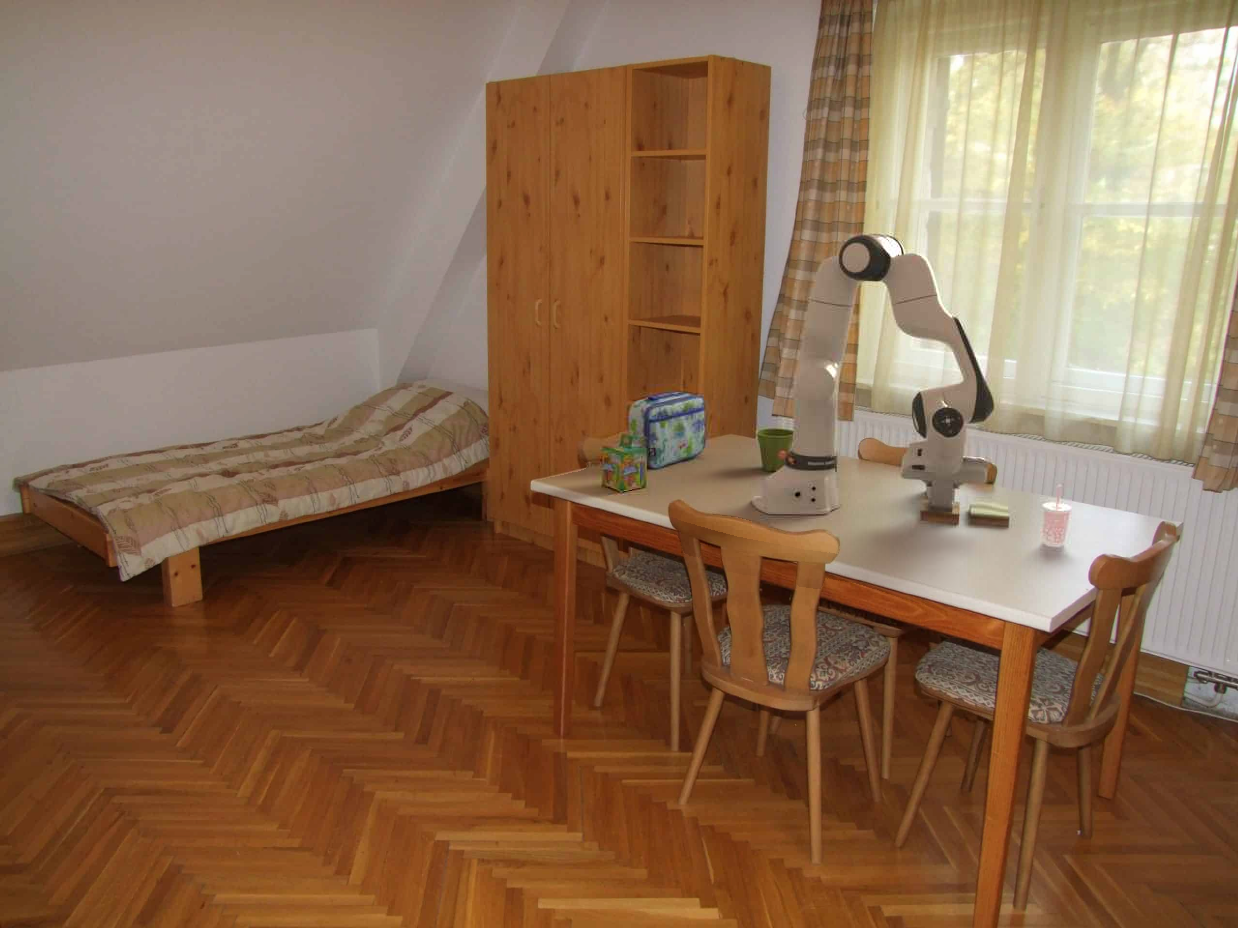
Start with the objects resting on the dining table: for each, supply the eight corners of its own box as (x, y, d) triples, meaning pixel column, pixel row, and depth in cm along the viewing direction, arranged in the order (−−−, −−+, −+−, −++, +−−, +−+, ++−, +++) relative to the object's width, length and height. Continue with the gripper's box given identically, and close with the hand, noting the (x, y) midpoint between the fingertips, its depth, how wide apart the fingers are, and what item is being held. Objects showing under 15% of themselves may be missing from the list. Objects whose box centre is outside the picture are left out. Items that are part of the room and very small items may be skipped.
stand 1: (958, 524, 255) (959, 514, 254) (920, 520, 258) (921, 511, 257) (958, 511, 265) (959, 501, 264) (922, 508, 268) (922, 499, 267)
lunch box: (649, 472, 303) (649, 402, 298) (624, 466, 311) (623, 397, 306) (709, 457, 320) (710, 390, 315) (684, 451, 328) (685, 386, 323)
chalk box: (601, 486, 290) (600, 434, 286) (627, 480, 295) (626, 430, 291) (621, 493, 283) (621, 440, 279) (647, 487, 288) (648, 435, 284)
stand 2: (1008, 526, 253) (1009, 516, 252) (969, 523, 256) (970, 513, 255) (1006, 513, 263) (1007, 503, 263) (969, 510, 266) (970, 501, 265)
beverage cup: (1053, 549, 237) (1059, 490, 233) (1033, 541, 242) (1039, 483, 239) (1073, 545, 239) (1080, 487, 236) (1053, 537, 245) (1059, 480, 241)
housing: (952, 512, 256) (955, 472, 254) (928, 510, 258) (931, 470, 255) (952, 503, 264) (955, 464, 261) (929, 501, 265) (932, 462, 263)
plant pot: (801, 467, 308) (802, 430, 305) (785, 476, 298) (786, 438, 296) (764, 462, 314) (765, 426, 311) (747, 471, 305) (748, 433, 302)
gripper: (991, 448, 247) (986, 477, 258) (902, 442, 253) (901, 471, 264) (990, 471, 244) (985, 499, 255) (900, 464, 250) (899, 492, 261)
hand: (942, 485), depth 260 cm, fingers closed on housing, 5 cm apart
